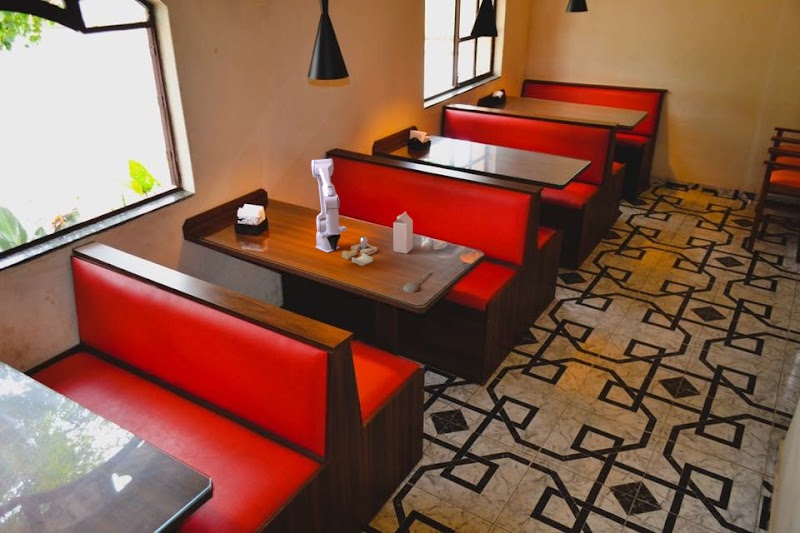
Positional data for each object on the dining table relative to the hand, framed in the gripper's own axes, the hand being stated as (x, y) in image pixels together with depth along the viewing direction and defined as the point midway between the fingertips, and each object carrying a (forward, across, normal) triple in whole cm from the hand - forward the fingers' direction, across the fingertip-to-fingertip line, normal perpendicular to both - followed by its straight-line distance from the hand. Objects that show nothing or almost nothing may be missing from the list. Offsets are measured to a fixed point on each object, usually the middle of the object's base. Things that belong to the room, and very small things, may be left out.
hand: (333, 249), depth 292 cm
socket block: (+7, +19, 0) cm, 20 cm away
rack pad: (+7, +10, -8) cm, 15 cm away
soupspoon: (+8, +12, -43) cm, 45 cm away
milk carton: (+7, +33, -13) cm, 36 cm away
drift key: (+7, +10, 0) cm, 12 cm away
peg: (+7, +19, 0) cm, 20 cm away
